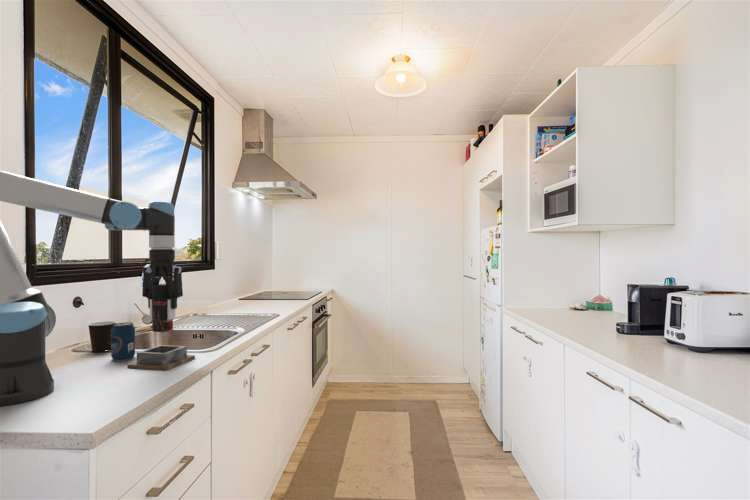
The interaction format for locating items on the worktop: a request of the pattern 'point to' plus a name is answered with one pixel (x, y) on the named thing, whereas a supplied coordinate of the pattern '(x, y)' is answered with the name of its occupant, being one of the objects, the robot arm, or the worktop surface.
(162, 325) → the deodorant
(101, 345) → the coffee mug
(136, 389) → the worktop surface
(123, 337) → the soda can
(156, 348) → the socket
